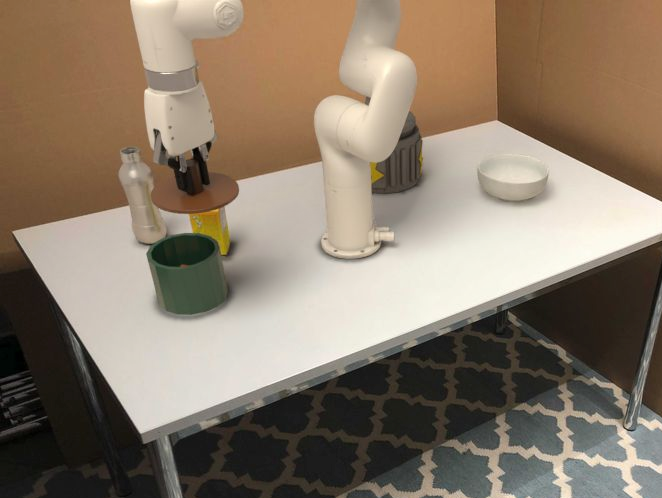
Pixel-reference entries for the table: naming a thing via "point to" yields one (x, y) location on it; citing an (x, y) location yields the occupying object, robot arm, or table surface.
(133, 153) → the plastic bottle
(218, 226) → the supplement box
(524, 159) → the cereal bowl
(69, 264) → the table surface
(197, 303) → the canister
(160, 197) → the canister lid
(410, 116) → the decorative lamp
